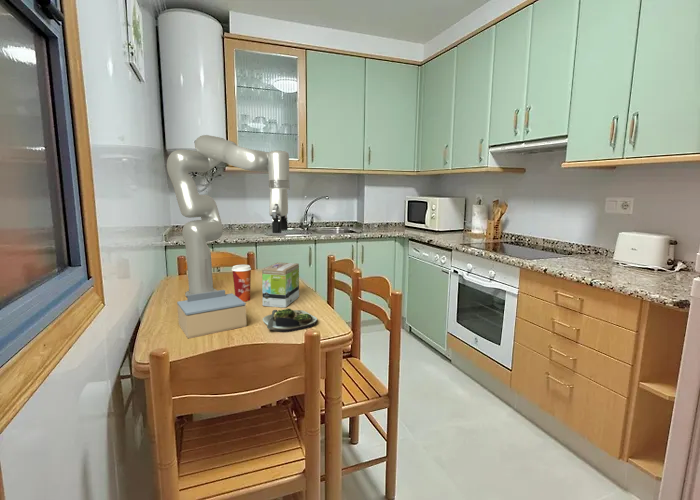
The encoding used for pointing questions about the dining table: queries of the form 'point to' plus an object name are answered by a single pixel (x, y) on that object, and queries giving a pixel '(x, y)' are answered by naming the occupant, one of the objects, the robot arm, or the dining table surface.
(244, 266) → the paper cup
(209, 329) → the box
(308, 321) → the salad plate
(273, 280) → the tea box
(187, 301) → the lid
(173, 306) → the dining table surface
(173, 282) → the dining table surface
